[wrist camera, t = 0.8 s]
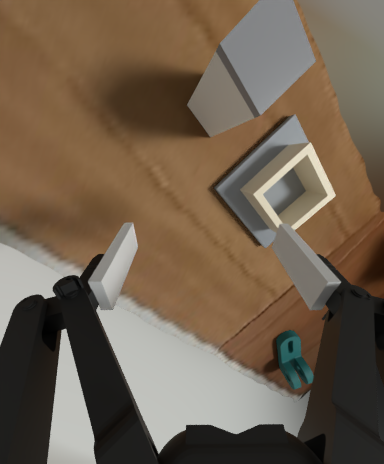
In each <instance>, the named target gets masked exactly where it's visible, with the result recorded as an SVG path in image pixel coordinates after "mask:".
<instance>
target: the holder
mask: <svg viewBox="0 0 384 464" xmlns="http://www.w3.org/2000/svg"><path fill="white" fill-rule="evenodd" d="M214 189H215V190H216V191H217V192H218V194H219V195H220V196H221V197H222V198H223V200H224V201H225V202H226V203H227V204H228V206H229V207H230V208H231V209H232V210H233V212H234V213H235V214H236V215H237V216H238V218H239V219H240V220H241V221H242V222H243V224H244V225H245V226H246V227H247V228H248V230H249V231H250V232H251V233H252V234H253V236H254V237H255V238H256V239H257V241H258V242H259V243H260V244H261V245H262V246H263V247H264V248H266V247H267V246H269V245H270V244H271V243H272V242H273V241H274V239H275V236H276V233H277V230H278V227H279V224H289V225H290V226H291V227H292V228H293V229H294V230H296V229H297V228H298V227H299V226H300V225H302V224H303V223H304V222H305V221H306V220H307V219H309V218H310V217H311V216H312V215H313V214H315V213H316V212H317V211H318V210H319V209H321V208H322V207H323V206H324V205H325V204H327V203H328V202H329V201H330V200H331V199H332V198H334V197H335V196H336V195H335V193H334V191H333V189H332V187H331V184H330V182H329V180H328V178H327V176H326V174H325V172H324V170H323V167H322V165H321V163H320V161H319V159H318V157H317V155H316V153H315V150H314V148H313V146H312V144H311V142H308V140H307V138H306V136H305V134H304V132H303V129H302V127H301V125H300V123H299V121H298V119H297V117H296V115H292V116H289V117H288V118H287V119H286V120H285V121H284V122H283V123H282V124H281V125H280V126H279V127H277V128H276V129H275V130H274V131H273V132H272V133H271V134H270V135H269V136H268V137H267V138H266V139H265V140H264V141H263V142H262V143H261V144H260V145H259V146H257V147H256V148H255V149H254V150H253V151H252V152H251V153H250V154H249V155H248V156H247V157H246V158H245V159H244V160H243V161H242V162H241V163H240V164H239V165H237V166H236V167H235V168H234V169H233V170H232V171H231V172H230V173H229V174H228V175H227V176H226V177H225V178H224V179H223V180H222V181H221V182H220V183H219V184H217V185H216V186H215V187H214Z"/></svg>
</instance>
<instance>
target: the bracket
mask: <svg viewBox="0 0 384 464" xmlns="http://www.w3.org/2000/svg"><path fill="white" fill-rule="evenodd" d="M288 342H289V345H288ZM276 343H277V352H278V361H279V368H280V370H281V371H282V373H283V375H284V376H285V378H286V380H287V382H288V383H289V385H290V386H291V388H292V389H297V388H299V387H301V382H300V380H299V377H298V375H297V373H298V374H299V376H300V377H301V379H302V380H303V381H304V383H306V384H309V383H312V382H313V377H314V376H313V373H312V371H311V369H310V368H309V366H308V365H307V363H306V362H305V360H304V359H303V358H302V356H301V340H300V338H299V337H298V335H297V334H296V333H295V332H294V331H292V330H289V331H285V332H283V333H282V334H280V335H279V336H278V338H277V340H276ZM294 369H295V370H296V371H297V373H296V372H295V370H294Z"/></svg>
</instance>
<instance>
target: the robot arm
mask: <svg viewBox="0 0 384 464" xmlns="http://www.w3.org/2000/svg"><path fill="white" fill-rule="evenodd" d="M137 248H138V245H137V240H136V235H135V230H134V225H133V223H124V224H123V226H122V227H121V229H120V231H119V232H118V234H117V235H116V237H115V239H114V240H113V242H112V243H111V245H110V247H109V248H108V250H107V252H106V253H105V254H98V255H97V256H95V257H94V258H93V259H92V260H91V262H90V263H89V265H88V266H87V268H86V269H85V270H84V272H83V273H82V275H81V276H80V278H79V277H78V276H75V275H71V276H67V277H64V278H62V279H60V280H59V281H58V282H57V283H55V285H54V286H53V292H54V293H55V295H56V296H55V297H52V298H47V299H44V297H43V296H41V295H32V296H29V297H27V298H25V299H23V300H22V301H21V302H19V303H18V304H17V305H16V307H15V308H14V310H13V313H12V316H11V318H10V321H9V324H8V326H7V329H6V332H5V334H4V337H3V340H2V343H1V345H0V464H47V457H48V449H49V439H50V430H51V421H52V413H53V403H54V394H55V385H56V376H57V367H58V358H59V349H60V339H61V330H63V329H67V333H68V337H69V341H70V345H71V349H72V353H73V356H74V360H75V364H76V368H77V372H78V376H79V380H80V383H81V387H82V391H83V395H84V399H85V403H86V407H87V410H88V414H89V418H90V422H91V426H92V430H93V434H94V439H95V442H94V454H95V459H96V464H384V442H383V441H382V440H381V439H380V437H379V432H378V410H377V409H378V408H377V383H376V364H377V367H378V370H379V373H380V376H381V379H382V382H383V385H384V299H382V298H378V297H374V296H371V295H370V293H368V292H367V291H366V290H364V289H362V288H360V287H358V286H355V285H351V284H350V283H349V282H348V281H347V280H346V279H345V278H344V277H343V276H342V275H341V274H340V273H339V271H338V270H336V268H335V267H334V266H333V265H332V264H331V263H330V262H329V261H328V260H327V259H326V258H324V257H323V256H321V255H320V254H315V253H314V252H313V250H312V249H311V248H310V247H309V246H308V245H307V244H306V243H305V242H304V240H303V239H302V238H301V237H300V236H299V235H298V234H297V233H296V232H295V231H294V229H293V228H292V227H291V226H290V225H289V224H279V227H278V230H277V233H276V236H275V239H274V242H273V245H272V249H273V251H274V252H275V254H276V255H277V257H278V259H279V260H280V262H281V264H282V265H283V267H284V268H285V270H286V272H287V273H288V275H289V277H290V278H291V280H292V281H293V283H294V285H295V286H296V288H297V290H298V291H299V293H300V294H301V296H302V298H303V299H304V301H305V303H306V304H307V306H308V307H309V309H310V310H322V308H323V307H324V306H325V304H326V306H327V307H328V308H329V310H328V311H327V313H326V314H325V315H324V317H323V318H322V320H324V319H325V318H326V319H325V324H324V328H323V333H322V338H321V343H320V348H319V353H318V358H317V362H316V367H315V372H314V377H313V382H312V387H311V392H310V397H309V401H308V407H307V412H306V416H305V419H304V422H303V424H302V426H301V428H300V430H299V433H298V437H295V436H294V435H292V434H290V433H288V432H286V431H285V429H284V425H283V424H272V425H271V424H268V425H267V424H265V425H257V426H255V427H253V428H251V429H248V430H246V431H244V432H241V433H239V434H233V433H230V432H228V431H225V430H222V429H219V428H217V427H214V426H212V425H186V430H185V431H183V432H180V433H179V434H177V435H176V436H174V437H173V438H172V439H171V440H170V441H169V442H168V443H167V444H166V445H165V446H164V447H163V449H162V450H161V452H160V453H159V454H158V451H157V449H156V447H155V445H154V442H153V440H152V437H151V435H150V433H149V431H148V429H147V426H146V425H145V422H144V420H143V418H142V416H141V413H140V411H139V409H138V406H137V404H136V402H135V399H134V397H133V395H132V392H131V390H130V388H129V386H128V383H127V381H126V379H125V376H124V374H123V372H122V369H121V367H120V365H119V363H118V360H117V358H116V356H115V353H114V351H113V349H112V346H111V344H110V342H109V340H108V337H107V335H106V333H105V330H104V328H103V326H102V323H101V321H100V319H99V316H98V314H97V312H96V309H97V307H98V305H99V306H100V308H101V310H113V308H114V306H115V303H116V301H117V298H118V296H119V293H120V291H121V288H122V286H123V283H124V281H125V278H126V276H127V273H128V271H129V268H130V266H131V263H132V261H133V258H134V256H135V253H136V251H137Z"/></svg>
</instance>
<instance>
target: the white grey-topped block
mask: <svg viewBox="0 0 384 464" xmlns="http://www.w3.org/2000/svg"><path fill="white" fill-rule="evenodd" d="M315 62H316V60H315V57H314V54H313V52H312V49H311V47H310V44H309V41H308V39H307V36H306V33H305V31H304V28H303V25H302V23H301V20H300V17H299V15H298V12H297V9H296V7H295V4H294V1H293V0H259V1H258V3H257V4H256V5H255V6H254V7H253V8H252V9H251V10H250V11H249V12H248V13H247V15H246V16H245V17H244V18H243V19H242V20H241V21H240V22H239V23H238V24H237V25H236V26H235V28H234V29H233V30H232V31H231V32H230V33H229V34H228V35H227V36H226V37H225V38H224V40H223V41H222V42H221V43H220V44H219V46H218V48H217V50H216V52H215V53H214V55H213V57H212V59H211V61H210V63H209V65H208V67H207V68H206V70H205V72H204V74H203V76H202V78H201V80H200V82H199V83H198V85H197V87H196V89H195V91H194V93H193V95H192V96H191V98H190V100H189V102H188V104H187V106H188V107H189V109H190V110H191V111H192V113H193V114H194V115H195V117H196V118H197V120H198V121H199V122H200V124H201V125H202V126H203V128H204V129H205V131H206V132H207V133H208V135H209V136H210V137H212V136H215V135H217V134H219V133H221V132H224V131H226V130H228V129H231V128H233V127H235V126H237V125H240V124H242V123H244V122H246V121H249V120H251V119H253V118H256V117H258V116H260V115H261V114H262V113H263V112H264V111H265V110H266V109H268V108H269V107H270V106H271V105H272V104H273V103H274V102H275V101H276V100H277V99H278V98H279V97H280V96H281V95H282V94H283V93H284V92H285V91H286V90H287V89H288V88H289V87H290V86H291V85H292V84H293V83H294V82H295V81H296V80H297V79H298V78H299V77H300V76H301V75H302V74H303V73H304V72H305V71H306V70H307V69H308V68H309V67H310V66H312V65H313V64H314V63H315Z"/></svg>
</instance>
